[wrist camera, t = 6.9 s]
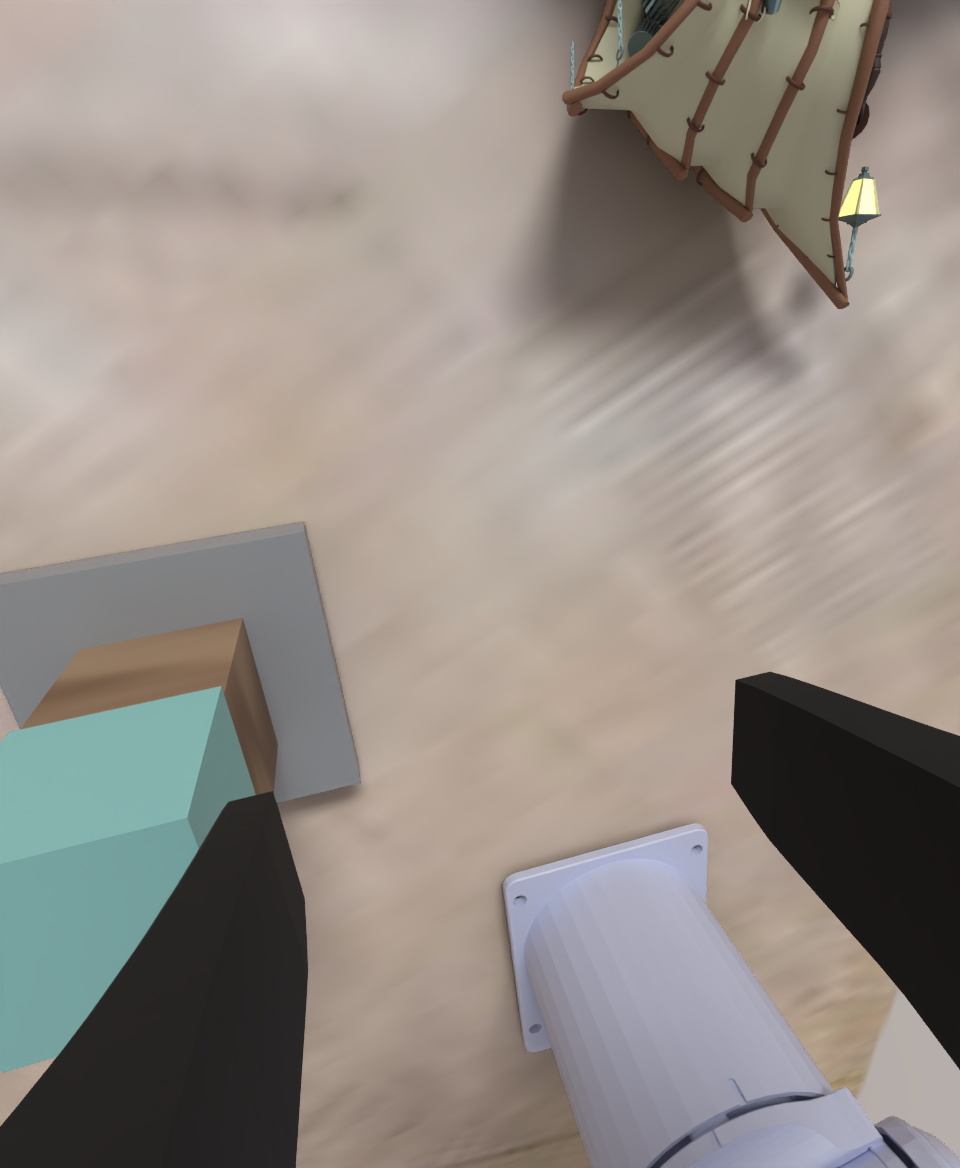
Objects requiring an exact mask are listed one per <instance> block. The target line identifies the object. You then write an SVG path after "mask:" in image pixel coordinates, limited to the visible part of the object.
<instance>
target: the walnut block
mask: <svg viewBox="0 0 960 1168" xmlns="http://www.w3.org/2000/svg"><path fill="white" fill-rule="evenodd" d="M219 686H221V687H222V690H223V693H224V696H225V699H226V702H227V705H228V709H229V712H230V715H231V718H232V721H233V724H234V728H235V731H236V734H237V737H238V740H239V743H240V746H241V750H242V753H243V756H244V759H245V762H246V765H247V769H248V772H249V775H250V778H251V781H252V784H253V787H254V791H255V794H256V795H258V794H262V793H266V792H271V791H273V793H274V784H275V772H276V761H277V749H278V742H277V739H276V735H275V731H274V728H273V724H272V721H271V717H270V714H269V710H268V706H267V703H266V699H265V696H264V692H263V689H262V685H261V681H260V678H259V674H258V671H257V667H256V664H255V660H254V656H253V653H252V649H251V646H250V642H249V639H248V635H247V631H246V628H245V624H244V621H243V618H240V619H235V620H229V621H224V622H219V623H214V624H209V625H204V626H198V627H193V628H188V629H183V630H178V631H173V632H167V633H162V634H157V635H152V636H147V637H142V638H136V639H131V640H126V641H121V642H116V643H111V644H105V645H100V646H95V647H90V648H85V649H80V650H78V651H77V653H76V654H75V655H74V657H73V658H72V660H71V661H70V662H69V664H68V665H67V666H66V668H65V669H64V670H63V672H62V673H61V674H60V676H59V677H58V679H57V680H56V681H55V683H54V684H53V685H52V687H51V688H50V689H49V691H48V692H47V693H46V695H45V696H44V698H43V699H42V700H41V702H40V703H39V704H38V706H37V707H36V708H35V710H34V711H33V712H32V714H31V715H30V717H29V718H28V719H27V721H26V722H25V723H24V725H23V726H22V727H21V729H25V728H30V727H35V726H39V725H44V724H48V723H53V722H58V721H62V720H67V719H72V718H76V717H81V716H85V715H90V714H95V713H99V712H104V711H108V710H113V709H118V708H122V707H127V706H132V705H136V704H141V703H145V702H150V701H155V700H159V699H164V698H168V697H173V696H178V695H182V694H187V693H192V692H196V691H201V690H205V689H210V688H215V687H219ZM21 729H20V730H21Z"/></svg>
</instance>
